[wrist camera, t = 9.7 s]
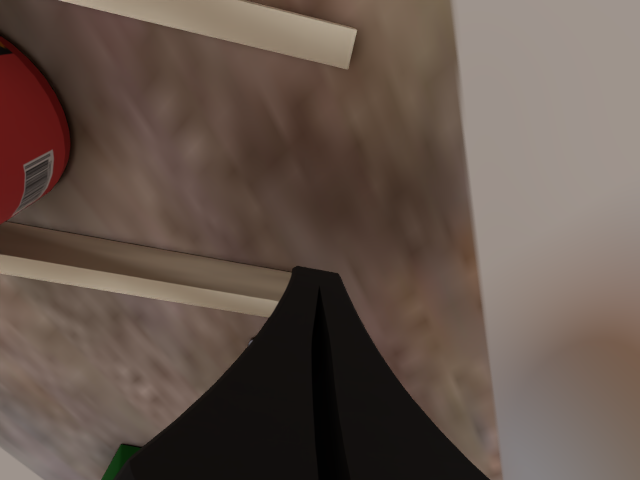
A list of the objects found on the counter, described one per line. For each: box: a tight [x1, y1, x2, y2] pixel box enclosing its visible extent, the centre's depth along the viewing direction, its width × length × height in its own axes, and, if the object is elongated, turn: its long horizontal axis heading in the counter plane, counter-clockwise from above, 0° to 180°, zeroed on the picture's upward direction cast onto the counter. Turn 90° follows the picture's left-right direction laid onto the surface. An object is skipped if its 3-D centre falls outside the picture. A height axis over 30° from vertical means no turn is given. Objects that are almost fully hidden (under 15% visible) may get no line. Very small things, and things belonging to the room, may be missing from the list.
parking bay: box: [0, 0, 357, 317], centre depth 15 cm, size 13×23×3 cm, turn 78°
